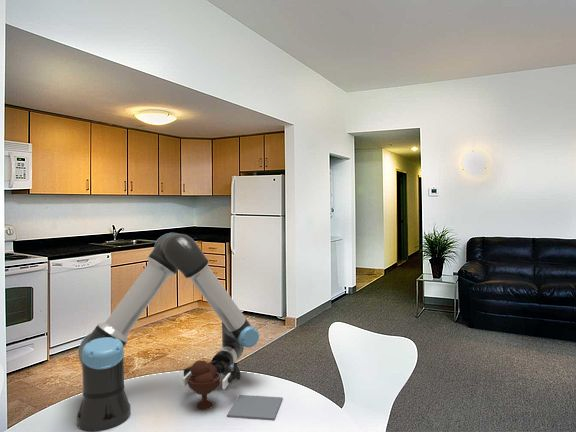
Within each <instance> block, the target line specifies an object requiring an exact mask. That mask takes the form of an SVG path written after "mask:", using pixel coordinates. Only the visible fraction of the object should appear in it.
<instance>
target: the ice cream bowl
mask: <svg viewBox="0 0 576 432" xmlns="http://www.w3.org/2000/svg"><path fill="white" fill-rule="evenodd" d="M191 366H192V367H191ZM191 366H190V367H191V370H190V371H191V375H189V376H188V379H187V382H188V384H187V386H188V387H189V389H191V390H192V392H194V393H195V394H197V395H201V400H200V401H199V402H197V404H196V407H195V408H196V409H197V410H199V411H201V410H202V411H205V410H206V411H207V410H210V409H211V408H213V407H214V403H213V401H211V400H209V399H208V395H209V394H211V393H213V392H214V391H215V390H216V389H217V388H218V387H219V385H220V382H221V378H222V374H220V373H218V372H217V371H216V367H214V366H213V365H212V364H210V363H209V362H207V361H206V360H197V361H195V362H194V363H192V364H191Z"/></svg>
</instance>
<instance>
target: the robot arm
mask: <svg viewBox="0 0 576 432" xmlns="http://www.w3.org/2000/svg"><path fill="white" fill-rule="evenodd" d="M147 262H148V263H147V265H146V266H145V268H144V269H143V270H142V271H141V273H140V275H139V276H138V277H137V278H136V280H135V281H134V283H133V284H132V285H131V286H130V287H129V290H127V291H126V294H125V295H124V296H123V297H122V299H121V300H120V301H119V303H118V304H117V305H116V307H115V308H114V310H112V313H110V315H109V317H108V318H107V319H106V320H105V321H103V322H99V323H97V325H96V326H95V328H94V329H93V330H92V332H90V333H88V334H87V335H86V336H85V337H83V339H82V340H81V342H80V344H79V347H78V354H77V355H78V360H79V362H80V365H81V370H82V399H81V403H80V406H79V409H78V412H77V416H76V425H78V426H77V428H79V427H80V428H81V430H82V429H83V430H82V431H89V432H90V431H91V432H95V431H97V432H98V431H103V430H109V429H111V428H113V427H116V426H119V425H120V424H123V423H124V422H125V421H127V420H128V419H129V418H130V417H131V414H132V412H131V410H132V409H131V403H130V401H129V398H128V395H127V394H126V390H125V367H124V366H125V364H124V363H125V361H124V359H125V357H124V356H125V349H124V348H125V346H126V345H127V343H128V342H129V339H128V334H129V333H130V331H131V330H132V329H133V327H134V326H135V324H136V323H137V322H138V320H139V319H140V317H141V316H142V314H143V313H144V312H145V311H146V309H147V307H148V306H149V304H150V303H151V302H152V300H153V299H154V298H155V296H156V295H157V294H158V292H159V291H160V289H161V288H162V286H164V283H165V282H166V281H167V279H168V278H169V277H172V276H175V275H176V274H177V272H178V271H179V272H181V274H182V275H183V276H184V278H186V279H190V281H191V282H192V284H193V285H194V286H195V287H196V288H197V290H198V291H199V293H200V294H201V295H202V296H203V299H205V300H206V302H207V303H208V304H209V306H210V307H211V308H212V310H213V312H215V314H216V315H217V317H218V319H220V321H221V333H222V334H221V336H222V337H221V338H222V339H221V340H222V341H221V349H220V350H219V351H217V353H216V354H215V355H214V356H213V357H212V359H211V361H209V362H208V363H210V364H212V365H213V366H214V367H216V371H217V372H218V373H220V374H221V375H223V376H225V377H224V378H223V379H222V390H226V388H227V387H228V386H229V384H232V383H233V382H234V381H235V380H237V381H240V380H241V371H240V368H239V365H238V362H237V361H238V360H239V359H240V358H241V357H242V355H243V352H244V350H245V349H244V348H247V349H249V348H252V347H254V346H255V345H256V344H258V342H259V339H260V334H259V333H260V332H259V331H258V330H257V328H256V327H254V326H253V325H251V323H250V321H248V319H247V318H246V316H245V315H244V313H243V312H242V311H241V310H240V308H239V306H238V305H237V304H236V302H235V301H234V300H233V298H232V296H231V295H230V294H229V292H228V291H227V290H226V288H225V287H224V286H223V284H222V283H221V282H220V280H219V279H218V277H217V276H216V275H215V273H214V272H213V270H212V269H211V268H210V267H209V264H210V263H209V262H210V261H209V260H208V258H207V257H206V256H205V254H204V252H203V251H202V249H201V248H200V246H199V245H198V244H197V242H196V241H195V240H194V239H193V238H192V237H191V236H189V235H187V234H183V233H178V232H169V233H165V234H163V235H161V236H160V237H159V238H157V239H156V242H155V243H154V247H153V250H152V251H151V252H150V254H149V255H148V257H147ZM191 367H192V365H191V366H188V367H187V368H184V369H183V377H182V383H181V384H182V385H181V386H182V387H183V388H185V387H186V386H188V382H187V379H188V376H189V375H191V371H190V370H191ZM80 428H79V429H80Z"/></svg>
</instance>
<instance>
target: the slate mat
mask: <svg viewBox="0 0 576 432" xmlns="http://www.w3.org/2000/svg"><path fill="white" fill-rule="evenodd" d="M283 400H284V398H283V397H282V396H267V395H266V396H265V395H249V394H239V395H238V397H237V398H236V400H235V402H234V403H233V404H232V406H231V408H230V410H228V413H227V414H226V418H237V419H238V418H239V419H248V420H249V419H250V420H251V419H253V420H263V421H264V420H266V421H275V419H276V417H277V414H278V412H279V409H280V407H281V404H282V402H283Z"/></svg>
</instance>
